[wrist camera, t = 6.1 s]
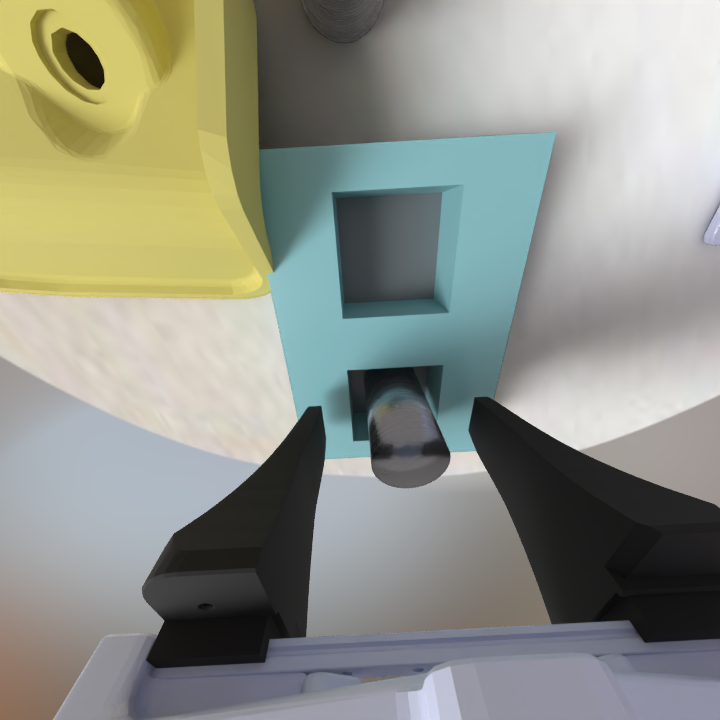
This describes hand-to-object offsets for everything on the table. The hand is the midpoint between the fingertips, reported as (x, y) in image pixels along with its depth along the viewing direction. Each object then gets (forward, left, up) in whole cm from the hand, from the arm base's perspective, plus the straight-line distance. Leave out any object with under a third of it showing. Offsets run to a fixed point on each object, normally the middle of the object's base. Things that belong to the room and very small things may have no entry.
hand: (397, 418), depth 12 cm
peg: (0, 0, -3) cm, 3 cm away
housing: (0, -4, -4) cm, 5 cm away
